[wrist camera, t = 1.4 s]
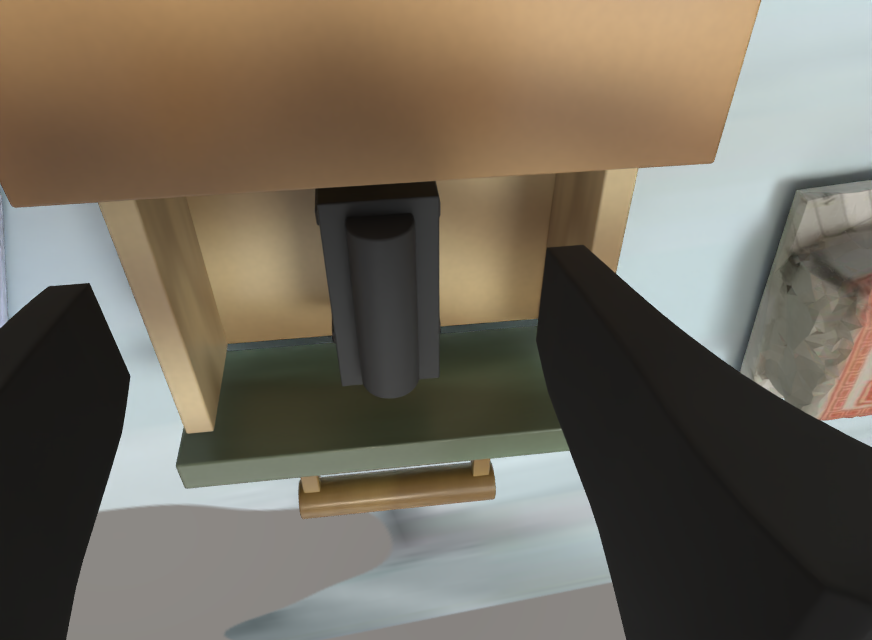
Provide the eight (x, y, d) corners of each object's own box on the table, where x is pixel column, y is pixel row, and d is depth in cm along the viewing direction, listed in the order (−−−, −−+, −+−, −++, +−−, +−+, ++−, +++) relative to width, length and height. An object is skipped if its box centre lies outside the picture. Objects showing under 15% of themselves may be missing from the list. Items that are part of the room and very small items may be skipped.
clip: (431, 298, 22) (449, 404, 19) (335, 306, 22) (336, 414, 19) (429, 125, 18) (452, 219, 15) (312, 132, 18) (308, 229, 15)
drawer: (550, 413, 28) (582, 515, 25) (227, 444, 27) (212, 555, 24) (616, -1, 18) (691, 72, 14) (90, 21, 17) (22, 107, 13)
